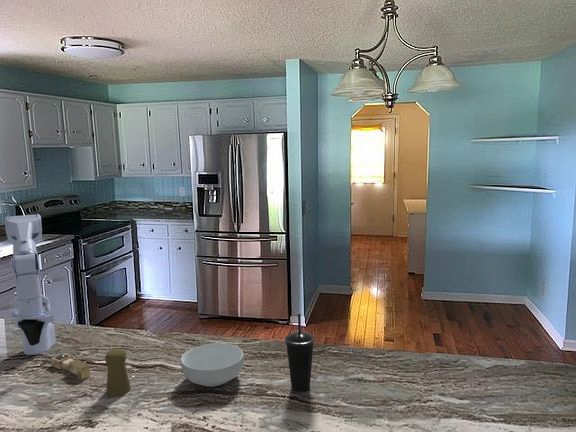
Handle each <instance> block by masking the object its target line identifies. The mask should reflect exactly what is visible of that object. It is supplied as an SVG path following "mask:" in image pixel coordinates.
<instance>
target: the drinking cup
mask: <svg viewBox="0 0 576 432" xmlns="http://www.w3.org/2000/svg"><path fill="white" fill-rule="evenodd" d="M301 318H302V315H301V313H298V314H297V329H298V330H297V331H294V332H292V333H291V332H290V333H289V334H287V335H285V338H284V342H285V344H286V352H287V353H286V354H287V361H288V368H289V375H290V376H289V377H290V385H291V389H292V391H293V392H296V393H304V392H307V391H309V390H310V388H311V376H312V364H313V354H314V353H313V352H314V351H313V350H314V343H315V339H316V338H315V336H314V335H313V334H311V333H308V332H305V331H302V328H301V327H302V320H301Z"/></svg>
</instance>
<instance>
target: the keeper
mask: <svg viewBox="0 0 576 432" xmlns="http://www.w3.org/2000/svg"><path fill="white" fill-rule="evenodd" d="M73 360H74V361H71V362H69V365H70V366H72V367H74V368H75V369H77V372H78V375H77V378H78V379H79V380H80V381H83V380H86V379H88V378H90V377H91V371H90V370H91V369H90V365H89V364H88V363H87V362H86V363H84V362H83V361H82V360H80V359H73Z"/></svg>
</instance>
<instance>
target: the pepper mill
mask: <svg viewBox="0 0 576 432" xmlns="http://www.w3.org/2000/svg"><path fill="white" fill-rule="evenodd" d="M104 360H105V364H106V365H107V377H106V378H107V379H106V395H107V396H108V397H111V398H116V397H121V396H124V395H127V394H128V393H129V392H131V390H132V388H131V387H132V386H131V382H130V379H129V374H128V370H127V366H126V360H127V352H126V351H125V350H124V349H121V348H116V349H112V350H109V351H107V353H106V354H105V356H104Z"/></svg>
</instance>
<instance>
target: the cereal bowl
mask: <svg viewBox="0 0 576 432" xmlns="http://www.w3.org/2000/svg"><path fill="white" fill-rule="evenodd" d="M244 355H245V354H244V352H243V350H242V348H240V347H239V346H237V345H234V344H230V343H222V342H221V343H220V342H217V343H215V342H214V343H207V344H202V345H198V346H196V347H193V348H190V349H189V350H187V351H186V352H184V353H183V354H182V355H181V357H180V366H181V371H182V374H183V375H184V377H185V378H186V380H188V381H190V382H191V383H193V384H196V385H199V386H203V387H206V388H207V387H208V388H209V387H211V388H214V387H218V386H222V385H224V384H225V383H227V382H230V381H231V380H233V379H235V378H236V377H238V375H239V374H240V373H241V371H242V369H243V366H244V360H245V359H244Z"/></svg>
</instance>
